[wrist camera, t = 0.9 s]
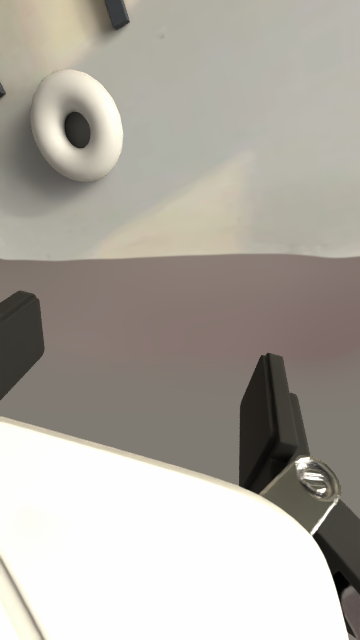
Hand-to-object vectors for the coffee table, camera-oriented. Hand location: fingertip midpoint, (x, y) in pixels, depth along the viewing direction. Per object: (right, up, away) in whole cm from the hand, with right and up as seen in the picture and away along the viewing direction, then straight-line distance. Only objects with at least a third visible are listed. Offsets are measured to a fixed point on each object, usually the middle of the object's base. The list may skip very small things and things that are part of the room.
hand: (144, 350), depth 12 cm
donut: (-9, +22, +20) cm, 32 cm away
